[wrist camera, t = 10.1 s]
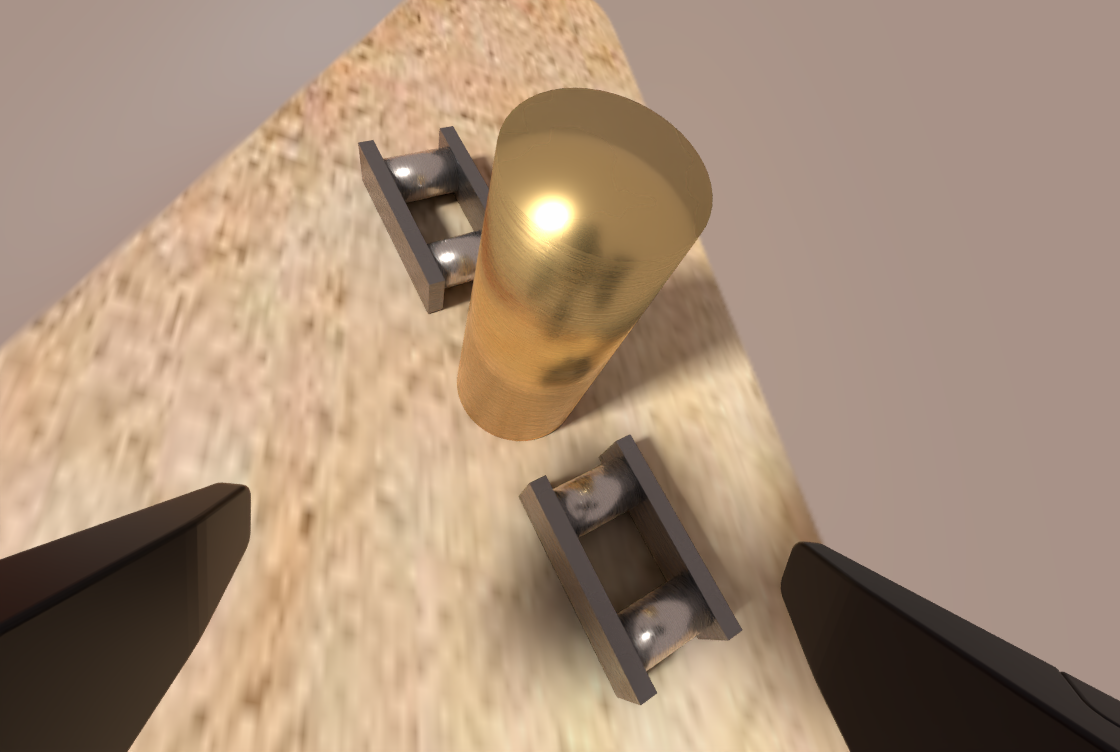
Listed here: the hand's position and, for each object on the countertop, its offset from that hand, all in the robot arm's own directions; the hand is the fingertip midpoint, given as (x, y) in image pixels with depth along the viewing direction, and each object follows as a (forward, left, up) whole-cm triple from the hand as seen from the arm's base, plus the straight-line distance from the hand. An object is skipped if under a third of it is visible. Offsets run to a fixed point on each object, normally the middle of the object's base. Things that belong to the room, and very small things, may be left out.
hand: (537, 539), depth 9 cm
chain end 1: (+13, +5, -10) cm, 17 cm away
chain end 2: (+2, -5, -10) cm, 11 cm away
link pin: (+7, 0, -10) cm, 12 cm away
